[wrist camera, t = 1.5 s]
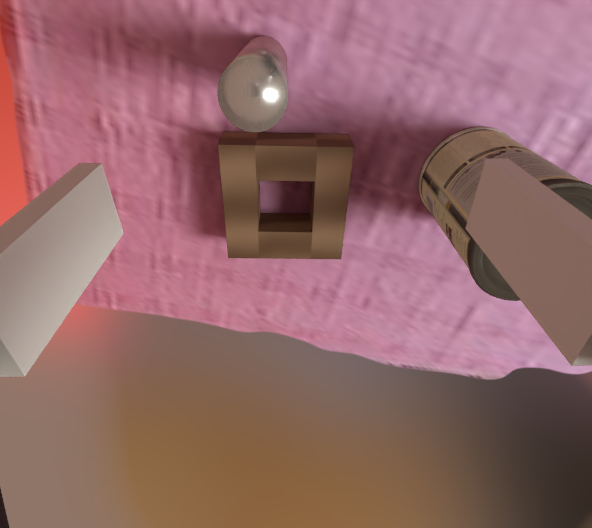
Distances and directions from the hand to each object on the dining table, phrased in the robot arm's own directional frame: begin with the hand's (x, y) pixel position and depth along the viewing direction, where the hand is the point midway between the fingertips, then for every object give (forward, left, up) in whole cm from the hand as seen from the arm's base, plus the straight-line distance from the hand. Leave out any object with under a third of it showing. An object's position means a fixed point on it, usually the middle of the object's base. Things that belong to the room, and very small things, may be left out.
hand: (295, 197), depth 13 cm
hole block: (+11, 0, -25) cm, 27 cm away
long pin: (-1, -2, -25) cm, 25 cm away
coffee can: (+9, +19, -25) cm, 32 cm away
